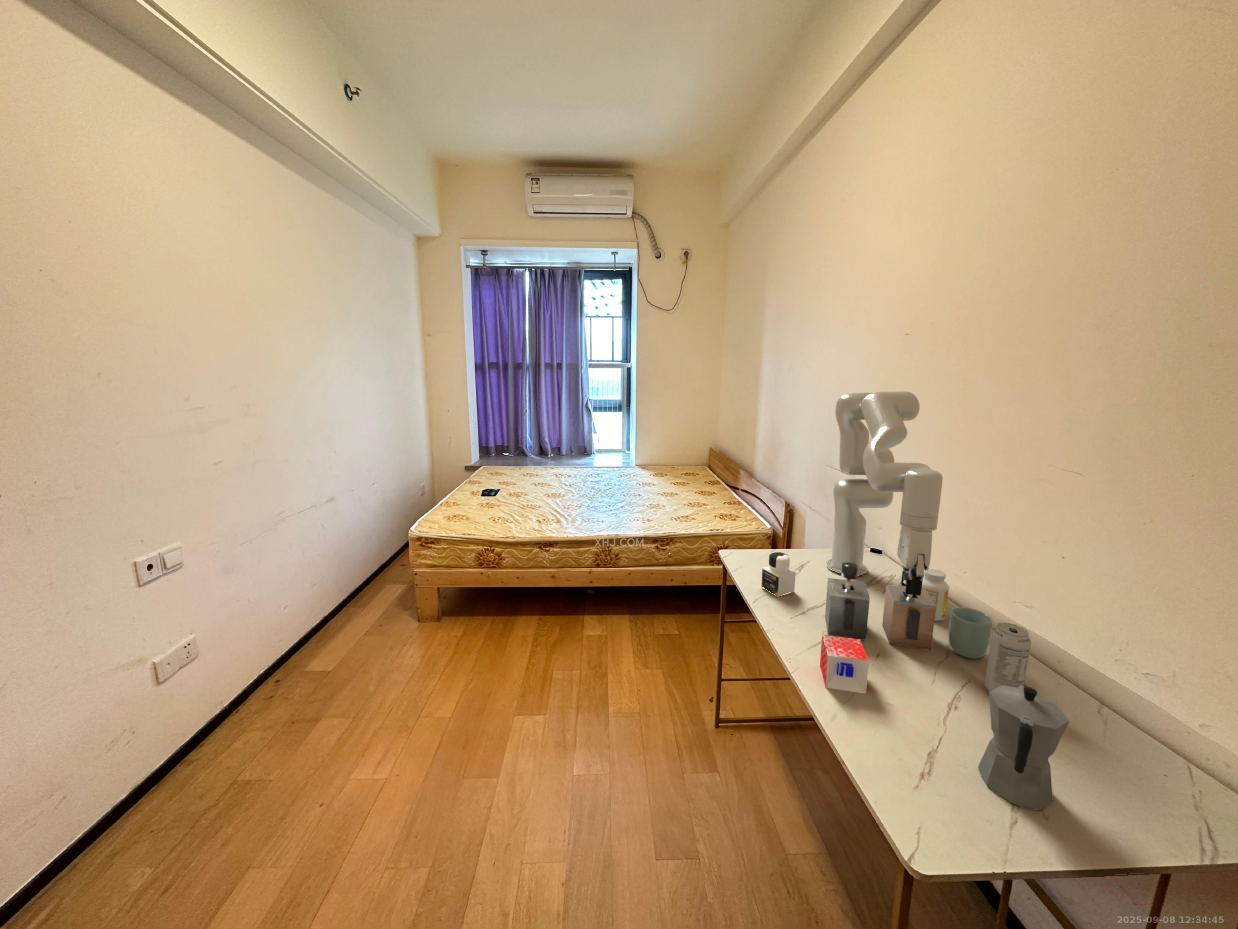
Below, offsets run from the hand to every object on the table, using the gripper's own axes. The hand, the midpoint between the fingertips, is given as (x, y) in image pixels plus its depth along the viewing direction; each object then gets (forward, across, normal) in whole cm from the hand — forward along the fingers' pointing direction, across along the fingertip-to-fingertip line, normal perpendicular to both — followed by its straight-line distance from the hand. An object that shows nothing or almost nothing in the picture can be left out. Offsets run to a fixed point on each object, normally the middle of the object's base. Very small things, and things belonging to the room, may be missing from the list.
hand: (910, 589), depth 112 cm
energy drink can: (+13, +17, +14) cm, 26 cm away
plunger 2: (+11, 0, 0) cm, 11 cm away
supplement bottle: (+13, -14, +9) cm, 21 cm away
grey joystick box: (+13, 0, -14) cm, 19 cm away
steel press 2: (+13, 0, 0) cm, 13 cm away
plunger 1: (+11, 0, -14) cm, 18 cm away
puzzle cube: (+14, +22, -17) cm, 31 cm away
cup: (+13, +3, +12) cm, 18 cm away
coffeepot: (+13, +43, +6) cm, 45 cm away
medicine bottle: (+13, -17, -31) cm, 38 cm away
